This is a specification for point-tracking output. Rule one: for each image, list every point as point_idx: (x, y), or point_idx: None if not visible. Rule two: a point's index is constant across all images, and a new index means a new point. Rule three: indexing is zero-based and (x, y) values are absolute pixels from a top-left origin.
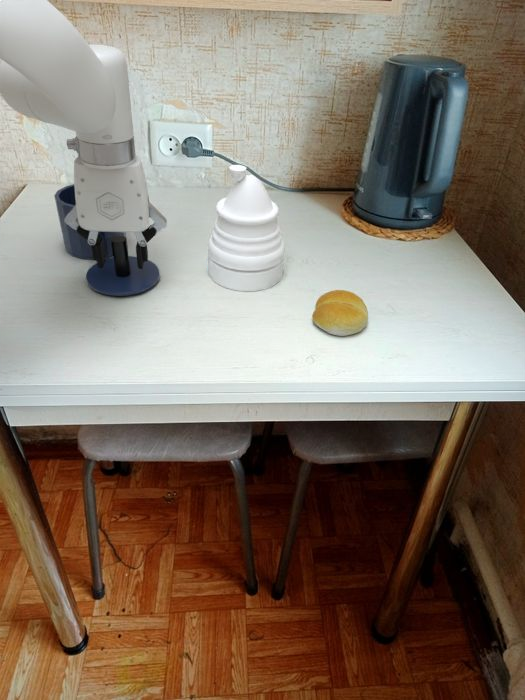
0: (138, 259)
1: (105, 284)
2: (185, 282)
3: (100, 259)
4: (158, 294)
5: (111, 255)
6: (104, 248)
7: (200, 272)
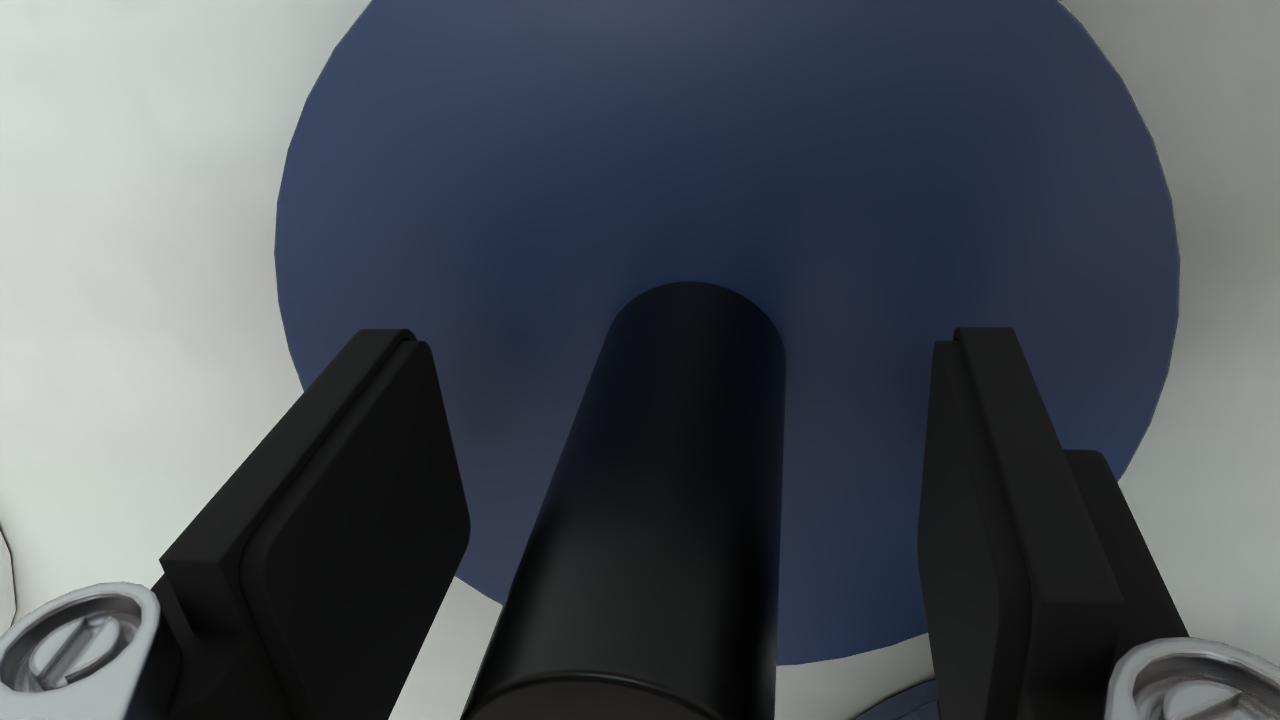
0: (335, 406)
1: (880, 91)
2: (69, 294)
3: (975, 411)
4: (228, 36)
5: (903, 701)
6: (935, 673)
7: (27, 458)
